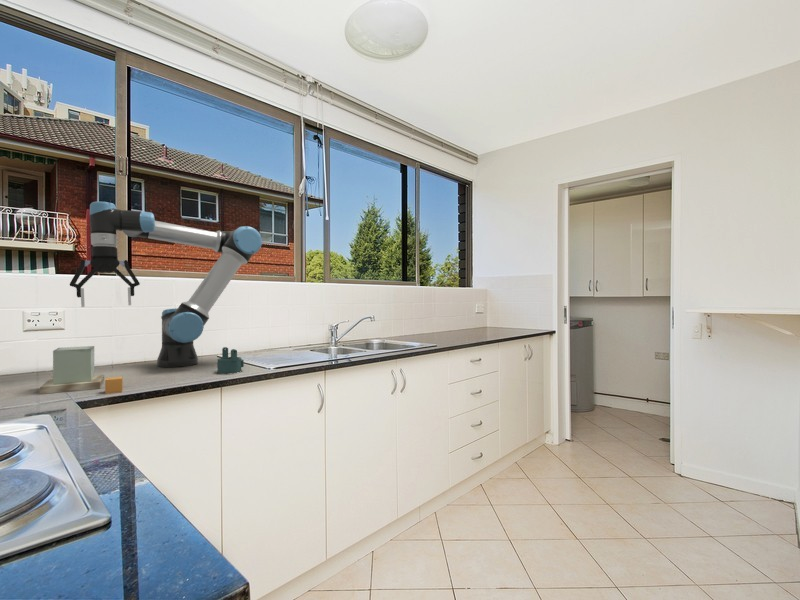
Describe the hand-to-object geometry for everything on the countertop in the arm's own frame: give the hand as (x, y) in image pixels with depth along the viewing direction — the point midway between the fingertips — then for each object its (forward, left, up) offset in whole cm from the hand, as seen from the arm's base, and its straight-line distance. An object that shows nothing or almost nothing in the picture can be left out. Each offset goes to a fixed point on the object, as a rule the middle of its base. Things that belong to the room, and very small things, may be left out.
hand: (107, 306), depth 147 cm
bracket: (-39, +14, -25) cm, 48 cm away
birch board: (+7, +18, -25) cm, 31 cm away
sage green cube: (+7, +18, -23) cm, 30 cm away
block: (-4, +32, -25) cm, 41 cm away
